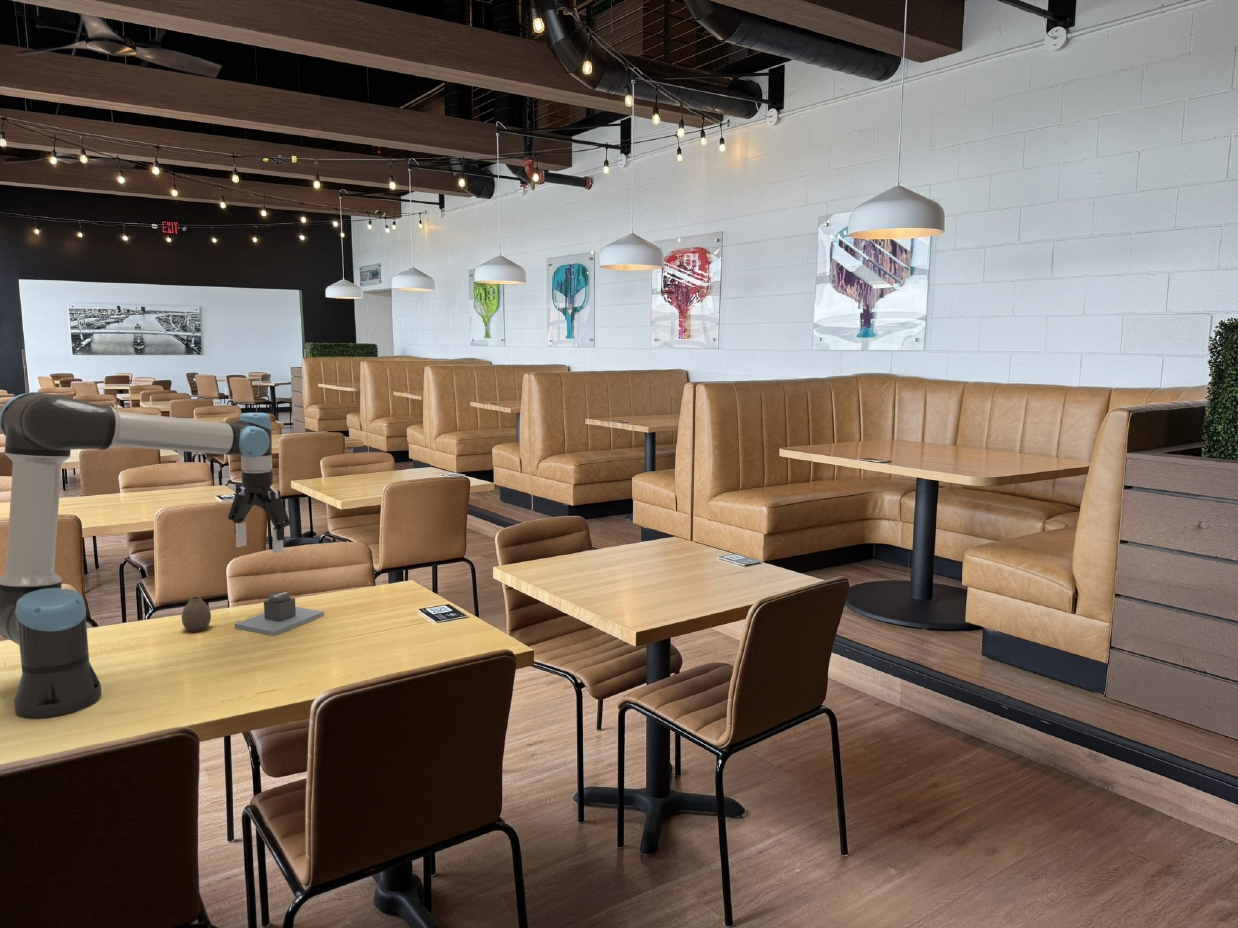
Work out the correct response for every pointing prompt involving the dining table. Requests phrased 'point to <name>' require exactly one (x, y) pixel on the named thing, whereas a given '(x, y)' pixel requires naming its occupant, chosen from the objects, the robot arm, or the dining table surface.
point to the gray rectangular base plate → (278, 622)
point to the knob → (279, 606)
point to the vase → (196, 615)
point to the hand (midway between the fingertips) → (259, 549)
